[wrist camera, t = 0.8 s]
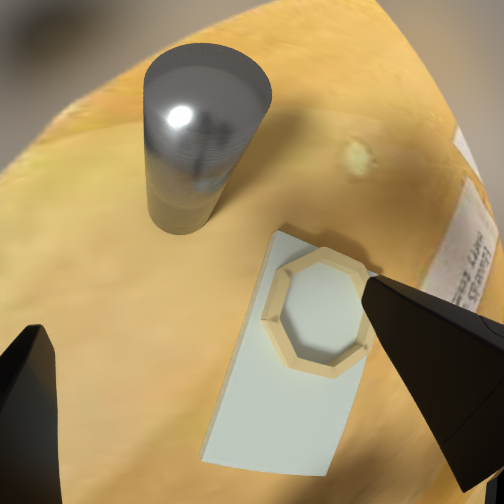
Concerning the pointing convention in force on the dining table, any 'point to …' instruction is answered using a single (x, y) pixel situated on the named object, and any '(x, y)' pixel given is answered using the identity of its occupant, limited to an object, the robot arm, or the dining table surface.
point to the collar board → (293, 363)
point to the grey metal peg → (197, 129)
